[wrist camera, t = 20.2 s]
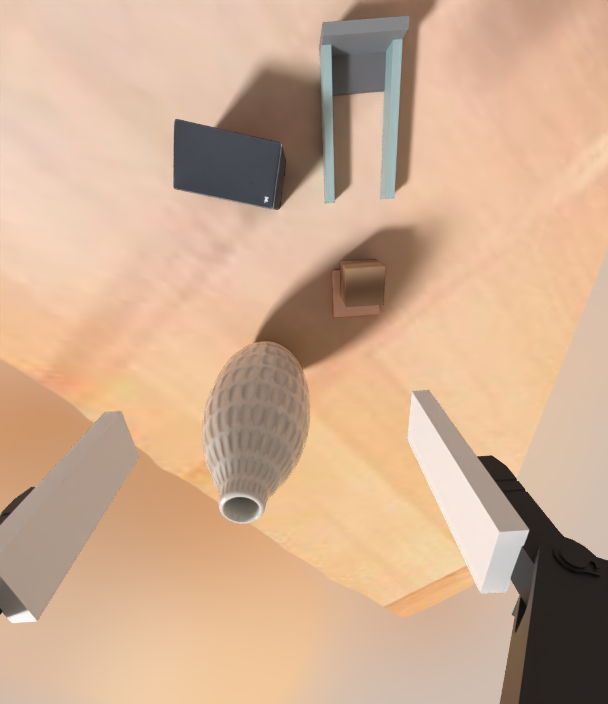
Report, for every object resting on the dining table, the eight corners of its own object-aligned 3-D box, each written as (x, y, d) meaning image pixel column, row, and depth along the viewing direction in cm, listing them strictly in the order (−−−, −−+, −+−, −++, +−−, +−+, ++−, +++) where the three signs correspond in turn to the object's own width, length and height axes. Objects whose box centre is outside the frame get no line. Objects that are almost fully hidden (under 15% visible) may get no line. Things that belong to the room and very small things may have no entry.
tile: (332, 270, 46) (332, 271, 45) (379, 267, 46) (380, 268, 45) (333, 316, 49) (333, 317, 48) (378, 313, 49) (379, 314, 48)
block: (339, 261, 44) (345, 268, 39) (374, 258, 44) (385, 266, 39) (340, 295, 47) (345, 307, 41) (373, 293, 47) (383, 304, 41)
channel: (319, 45, 35) (322, 22, 30) (395, 40, 35) (409, 15, 30) (324, 203, 42) (328, 203, 37) (387, 198, 42) (399, 197, 37)
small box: (287, 155, 39) (285, 139, 30) (280, 210, 42) (275, 212, 33) (203, 136, 38) (172, 114, 29) (200, 194, 41) (172, 191, 32)
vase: (244, 311, 48) (186, 431, 22) (319, 341, 50) (343, 480, 25) (219, 376, 53) (148, 537, 27) (289, 401, 55) (283, 569, 30)
